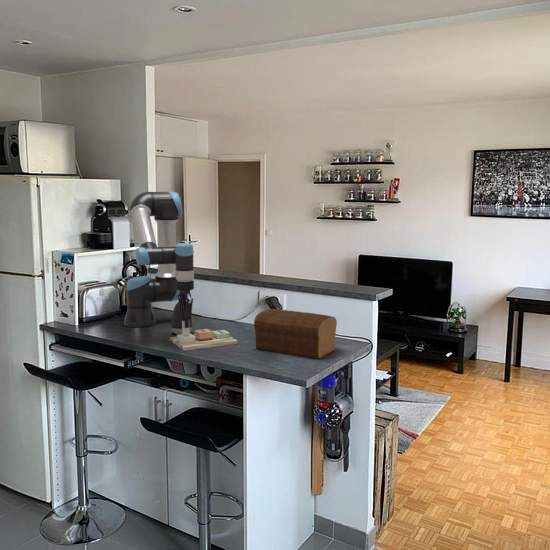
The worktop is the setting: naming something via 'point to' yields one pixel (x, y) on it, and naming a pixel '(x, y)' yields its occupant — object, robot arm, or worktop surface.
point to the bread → (295, 332)
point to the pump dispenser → (178, 321)
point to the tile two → (203, 334)
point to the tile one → (185, 338)
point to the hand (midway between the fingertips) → (185, 334)
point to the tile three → (221, 334)
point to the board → (204, 343)
